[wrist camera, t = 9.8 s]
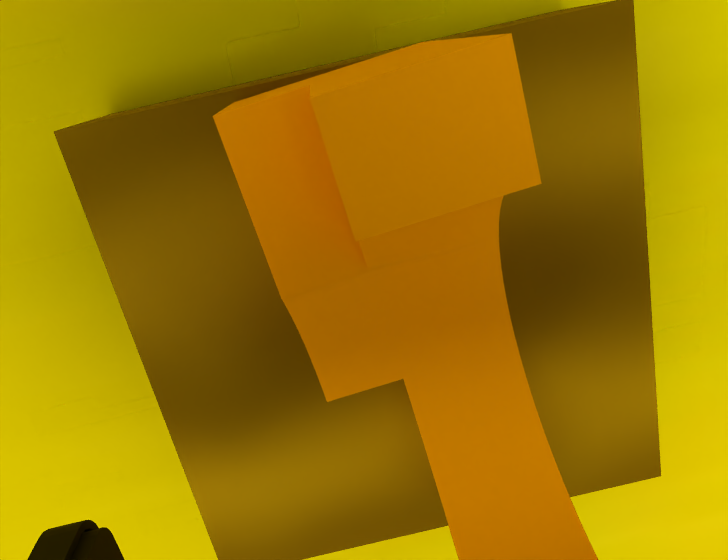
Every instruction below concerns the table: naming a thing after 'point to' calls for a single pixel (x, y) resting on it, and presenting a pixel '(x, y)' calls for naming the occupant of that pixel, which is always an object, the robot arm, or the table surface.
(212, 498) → the walnut block
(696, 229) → the table surface
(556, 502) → the pipe clamp
